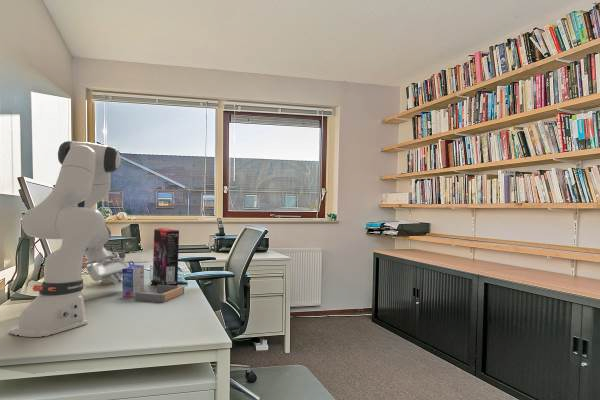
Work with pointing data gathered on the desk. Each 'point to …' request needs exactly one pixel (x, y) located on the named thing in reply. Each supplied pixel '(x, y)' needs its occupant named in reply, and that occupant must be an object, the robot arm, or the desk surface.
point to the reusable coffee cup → (121, 255)
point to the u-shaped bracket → (167, 295)
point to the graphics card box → (165, 256)
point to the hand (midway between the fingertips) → (119, 283)
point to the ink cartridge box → (132, 279)
